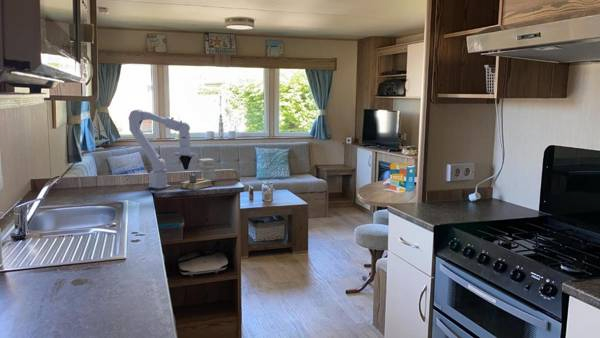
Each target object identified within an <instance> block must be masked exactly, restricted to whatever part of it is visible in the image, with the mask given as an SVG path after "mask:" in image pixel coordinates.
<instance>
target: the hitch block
mask: <svg viewBox="0 0 600 338" xmlns="http://www.w3.org/2000/svg"><path fill="white" fill-rule="evenodd" d="M196 182H197V183H190V180H186V181H181V182H180V183H181V184H180V185H181V189H186V188H187V189H188V190H195V191H196V190H199V189H204V188H207V187H212V185H213V184H212V181H211V180H203V181H197V180H196Z"/></svg>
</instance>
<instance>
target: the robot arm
mask: <svg viewBox="0 0 600 338" xmlns="http://www.w3.org/2000/svg"><path fill="white" fill-rule="evenodd" d="M146 120H147V121H148V120H150V121H153V122H156V123H160V124H163V125H164V127H165V128H167V129H169V130H173V131H175V132H178V134H179V136H178V141H179V151H174V152H173V153H172V154H173V157H178V160H180V162H181V164H182V167H183V170H186V171H187V170H188V169H189V165H190V163H191V161H192V158H197V157H198V153H197V152H192V151H191V136H190V130H191V127H190V125H189V124H188V123H187V122H185V121H183V120H178V119H175V117H173V116H171V117H167V118H166V117H163V116H160V115H157V114H155V113H152V112H150V111H146V110H141V109H134V110H132V111H131V112H130V113H129V116H128V125H129V131H130V133H131V135H132V136H133V137H134V138H135V140H136V142H137V143H138V145H139V146H140V147H141V148H142V150H143V151H144V153H145V154H146V156H147V157H148V159H149V162H150V164H151V168H152V170H151V171H150V172H149V173H148V184H149V185H148V188H153V189H163V188H168V187H171V184H168V175H167V169H166V166H167V161H166V160H165V158H163V157H162V156H161V155H160V154H158V152H157V151H156V150H155V148H154V147H153V145H152V144H151V142H150V140H148V138H147V137H146V135H145V134H144V132H143V131H142V129H141V125H142V124H143V121H146Z"/></svg>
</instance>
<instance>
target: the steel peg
mask: <svg viewBox="0 0 600 338" xmlns="http://www.w3.org/2000/svg"><path fill="white" fill-rule="evenodd" d="M196 179H197V174H194V173H193V174H189V181H190V183H197V182H196Z"/></svg>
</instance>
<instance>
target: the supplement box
mask: <svg viewBox="0 0 600 338" xmlns="http://www.w3.org/2000/svg"><path fill="white" fill-rule="evenodd" d="M198 161H199V162H198V165H199V166H198V167H199V172H200V171H201V172H202V173H201V178H203V179H206V180H211V182H215V181H216V170H215V169H216V168H215V166H216V165H215V161H216V160H215V159H213V158H208V157H206V158H199V160H198Z"/></svg>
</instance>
